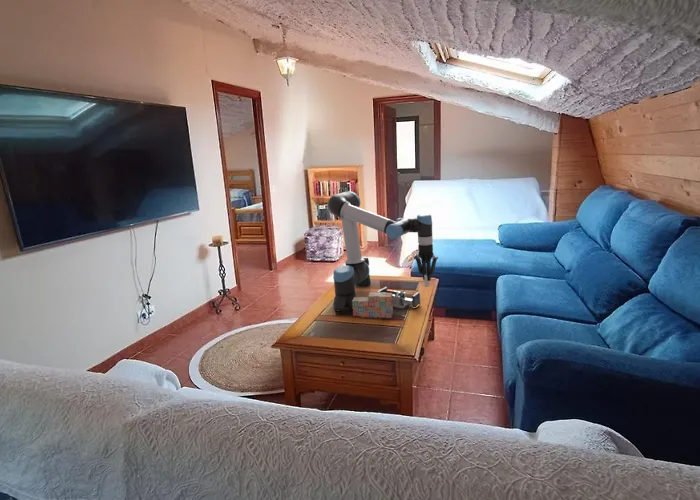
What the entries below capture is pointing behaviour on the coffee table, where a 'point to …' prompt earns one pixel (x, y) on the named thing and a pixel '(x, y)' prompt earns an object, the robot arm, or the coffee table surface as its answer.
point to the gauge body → (395, 297)
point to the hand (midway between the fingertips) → (427, 286)
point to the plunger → (409, 301)
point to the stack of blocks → (374, 305)
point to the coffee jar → (367, 280)
